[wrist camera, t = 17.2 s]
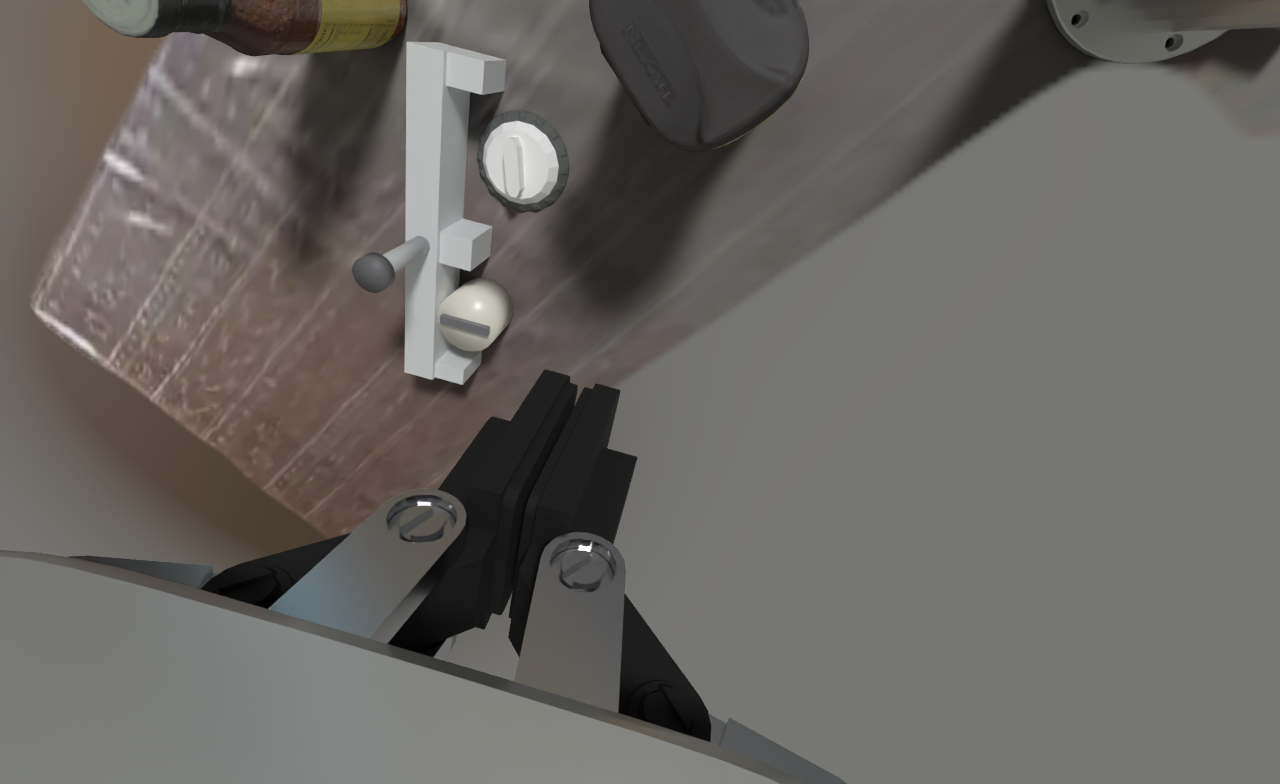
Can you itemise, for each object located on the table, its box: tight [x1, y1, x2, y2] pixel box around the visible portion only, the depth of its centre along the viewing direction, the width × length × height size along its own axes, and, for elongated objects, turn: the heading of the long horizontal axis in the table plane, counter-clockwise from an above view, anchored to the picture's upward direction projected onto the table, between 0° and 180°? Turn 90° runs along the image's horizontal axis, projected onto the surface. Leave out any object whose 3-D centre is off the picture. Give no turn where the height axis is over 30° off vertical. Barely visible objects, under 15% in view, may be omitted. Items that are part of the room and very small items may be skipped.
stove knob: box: [477, 111, 569, 211], centre depth 44 cm, size 7×7×3 cm
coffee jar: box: [589, 0, 809, 151], centre depth 31 cm, size 10×8×19 cm
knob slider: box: [437, 278, 513, 352], centre depth 49 cm, size 5×5×4 cm
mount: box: [352, 42, 507, 385], centre depth 43 cm, size 5×25×12 cm, turn 167°
